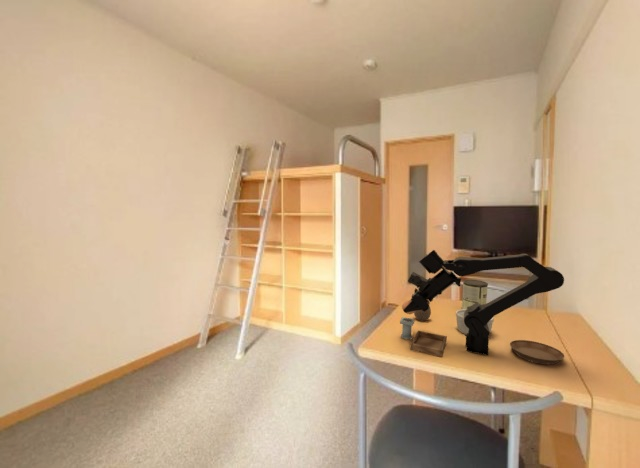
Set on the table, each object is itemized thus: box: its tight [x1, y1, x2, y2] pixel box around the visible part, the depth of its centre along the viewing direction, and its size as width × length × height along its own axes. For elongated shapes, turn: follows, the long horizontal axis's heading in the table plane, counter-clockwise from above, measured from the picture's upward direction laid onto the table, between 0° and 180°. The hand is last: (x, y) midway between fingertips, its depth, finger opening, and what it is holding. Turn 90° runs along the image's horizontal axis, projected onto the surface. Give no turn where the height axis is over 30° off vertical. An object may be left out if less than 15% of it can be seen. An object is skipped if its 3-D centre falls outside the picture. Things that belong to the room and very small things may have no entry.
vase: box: [413, 305, 432, 322], centre depth 135 cm, size 7×7×9 cm
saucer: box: [509, 339, 565, 365], centre depth 104 cm, size 15×15×3 cm
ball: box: [401, 299, 415, 315], centre depth 116 cm, size 5×5×5 cm
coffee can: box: [461, 279, 489, 310], centre depth 146 cm, size 10×10×14 cm
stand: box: [399, 316, 416, 340], centre depth 116 cm, size 5×5×6 cm
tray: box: [409, 330, 448, 358], centre depth 110 cm, size 10×13×2 cm
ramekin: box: [455, 308, 495, 335], centre depth 123 cm, size 13×13×7 cm
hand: (405, 309), depth 116 cm, fingers closed on ball, 5 cm apart
